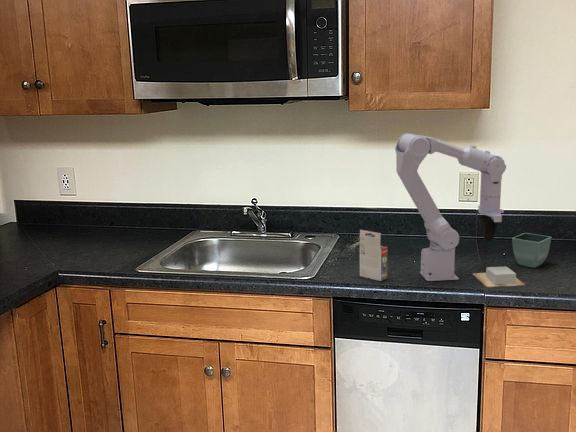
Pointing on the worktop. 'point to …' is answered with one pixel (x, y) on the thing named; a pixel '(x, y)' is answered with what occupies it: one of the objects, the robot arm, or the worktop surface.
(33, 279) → the worktop surface
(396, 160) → the robot arm
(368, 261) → the ink box
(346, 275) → the worktop surface
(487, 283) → the board
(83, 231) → the worktop surface
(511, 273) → the slab
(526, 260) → the flower pot
